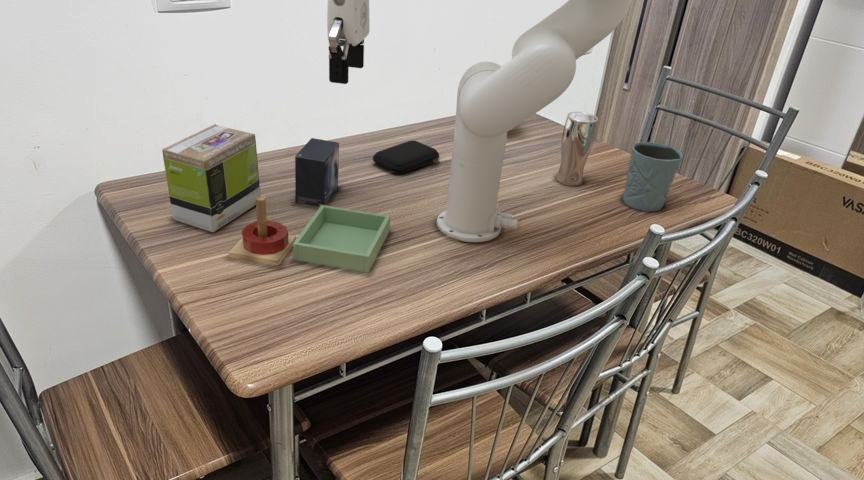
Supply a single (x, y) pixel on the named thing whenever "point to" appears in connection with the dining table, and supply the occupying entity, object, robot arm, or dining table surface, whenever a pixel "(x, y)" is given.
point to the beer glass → (576, 147)
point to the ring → (266, 245)
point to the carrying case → (406, 157)
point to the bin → (342, 238)
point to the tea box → (212, 177)
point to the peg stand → (271, 259)
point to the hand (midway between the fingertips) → (346, 74)
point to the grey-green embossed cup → (650, 175)
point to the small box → (316, 172)
